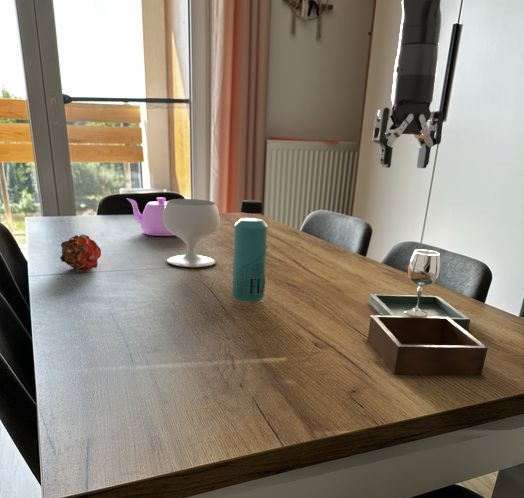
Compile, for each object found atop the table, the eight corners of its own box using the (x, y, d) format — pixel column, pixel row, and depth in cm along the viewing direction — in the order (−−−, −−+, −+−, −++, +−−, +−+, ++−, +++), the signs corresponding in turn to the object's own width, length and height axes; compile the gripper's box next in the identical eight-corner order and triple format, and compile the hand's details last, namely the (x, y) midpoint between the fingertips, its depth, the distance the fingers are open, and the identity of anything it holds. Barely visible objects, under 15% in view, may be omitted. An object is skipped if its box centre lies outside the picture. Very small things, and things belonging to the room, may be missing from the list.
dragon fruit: (74, 282, 114) (83, 276, 126) (105, 260, 114) (112, 256, 125) (48, 250, 112) (60, 247, 123) (80, 228, 111) (89, 226, 123)
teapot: (128, 228, 169) (127, 193, 164) (190, 230, 172) (190, 196, 168) (126, 236, 157) (124, 199, 152) (192, 238, 160) (192, 201, 156)
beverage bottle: (248, 311, 98) (253, 203, 90) (224, 303, 102) (227, 198, 94) (270, 305, 102) (277, 201, 95) (246, 297, 106) (251, 197, 99)
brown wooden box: (443, 341, 89) (448, 316, 87) (481, 375, 77) (488, 347, 75) (367, 340, 88) (370, 315, 86) (393, 374, 75) (398, 346, 73)
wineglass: (398, 314, 100) (409, 253, 95) (402, 306, 105) (412, 247, 100) (429, 319, 98) (441, 257, 93) (432, 311, 103) (443, 251, 98)
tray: (436, 305, 109) (438, 295, 108) (468, 330, 95) (470, 319, 95) (369, 303, 107) (370, 294, 106) (392, 328, 94) (394, 317, 93)
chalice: (164, 269, 123) (163, 205, 117) (162, 256, 136) (161, 197, 130) (222, 269, 126) (224, 207, 120) (215, 256, 139) (216, 199, 133)
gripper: (394, 69, 89) (384, 168, 95) (459, 75, 94) (445, 169, 100) (370, 74, 96) (362, 166, 102) (432, 79, 101) (421, 167, 107)
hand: (403, 167), depth 101 cm, fingers open, 8 cm apart
